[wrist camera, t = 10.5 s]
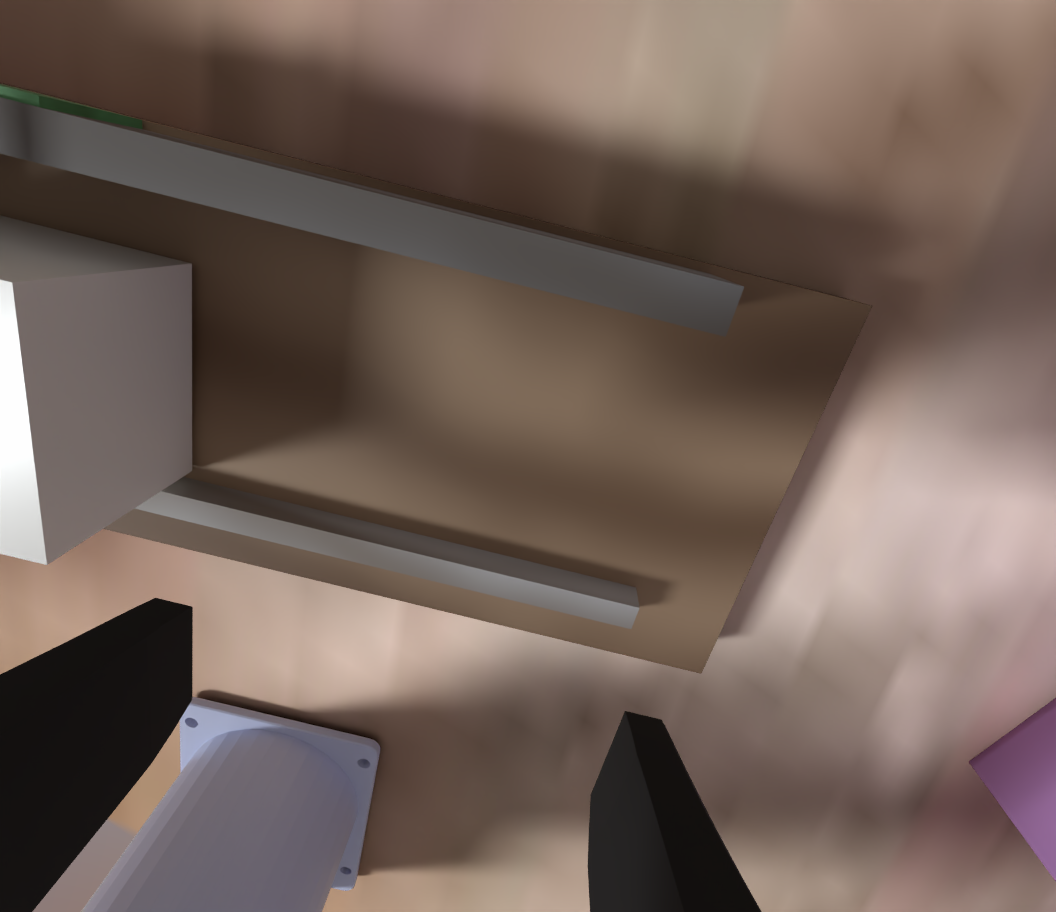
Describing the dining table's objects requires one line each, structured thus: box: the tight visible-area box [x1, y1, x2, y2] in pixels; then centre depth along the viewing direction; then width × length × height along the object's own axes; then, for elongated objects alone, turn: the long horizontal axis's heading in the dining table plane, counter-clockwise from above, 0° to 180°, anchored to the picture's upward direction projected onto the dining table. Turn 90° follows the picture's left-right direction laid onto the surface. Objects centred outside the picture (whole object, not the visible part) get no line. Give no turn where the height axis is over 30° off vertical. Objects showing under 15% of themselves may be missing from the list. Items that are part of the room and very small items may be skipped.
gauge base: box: [0, 83, 872, 673], centre depth 13 cm, size 12×30×8 cm, turn 77°
